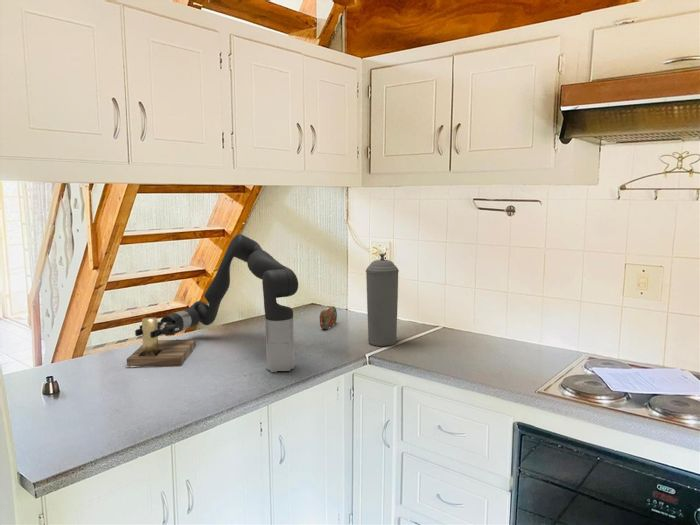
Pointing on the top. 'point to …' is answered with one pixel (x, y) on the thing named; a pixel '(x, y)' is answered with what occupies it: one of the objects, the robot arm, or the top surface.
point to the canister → (382, 302)
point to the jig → (164, 354)
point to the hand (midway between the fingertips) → (143, 334)
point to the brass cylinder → (149, 337)
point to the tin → (328, 317)
